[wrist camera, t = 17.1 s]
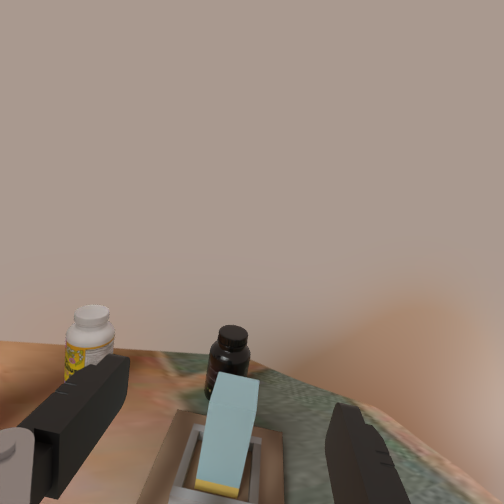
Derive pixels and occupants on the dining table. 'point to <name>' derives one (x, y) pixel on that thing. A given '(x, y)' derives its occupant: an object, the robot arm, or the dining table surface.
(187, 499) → the socket board
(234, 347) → the supplement bottle
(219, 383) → the peg
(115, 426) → the dining table surface
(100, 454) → the dining table surface
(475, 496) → the dining table surface
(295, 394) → the dining table surface
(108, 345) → the supplement bottle
